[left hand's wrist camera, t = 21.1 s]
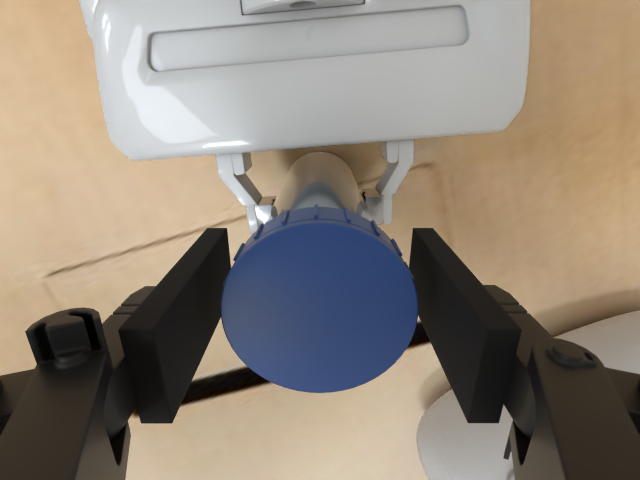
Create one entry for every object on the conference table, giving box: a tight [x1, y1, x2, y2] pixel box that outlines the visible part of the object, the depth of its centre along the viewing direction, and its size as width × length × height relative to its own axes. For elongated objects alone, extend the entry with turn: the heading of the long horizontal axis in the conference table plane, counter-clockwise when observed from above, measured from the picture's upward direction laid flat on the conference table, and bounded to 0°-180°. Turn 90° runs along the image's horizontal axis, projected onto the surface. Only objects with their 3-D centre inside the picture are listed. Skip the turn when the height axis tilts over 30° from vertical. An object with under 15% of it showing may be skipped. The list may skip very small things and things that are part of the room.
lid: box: [221, 204, 418, 393], centre depth 11 cm, size 6×6×2 cm
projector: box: [417, 310, 640, 480], centre depth 26 cm, size 22×23×15 cm
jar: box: [264, 152, 373, 224], centre depth 19 cm, size 5×5×16 cm
